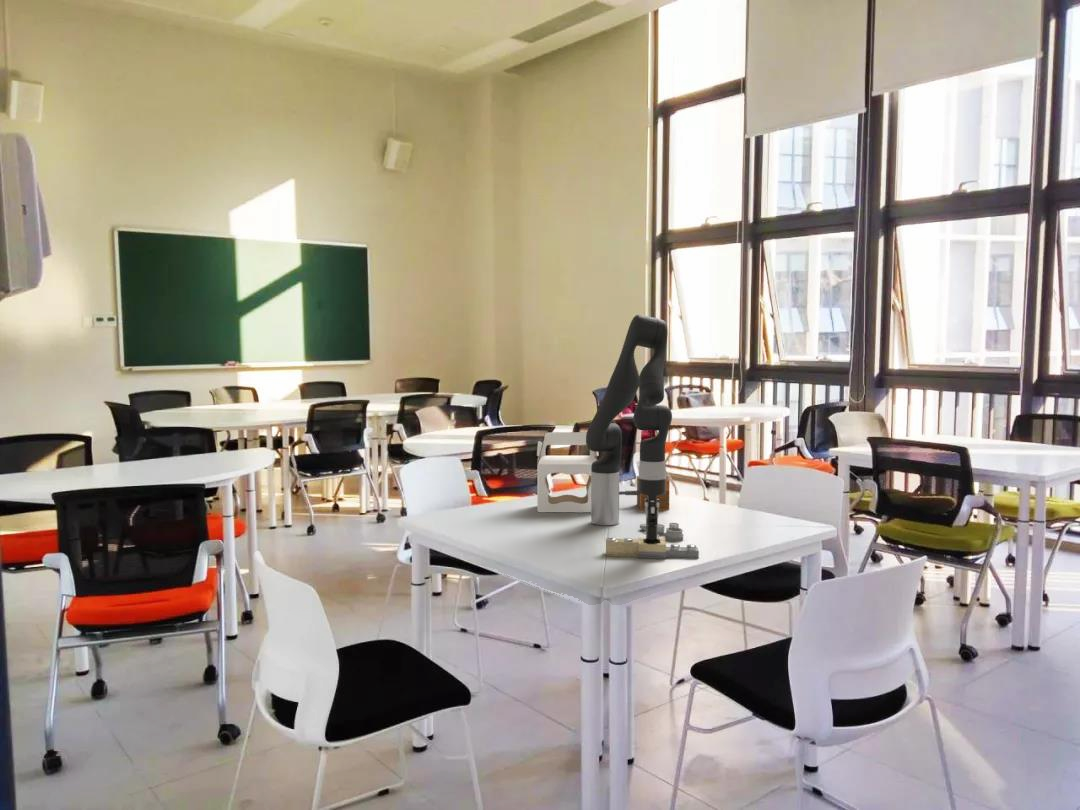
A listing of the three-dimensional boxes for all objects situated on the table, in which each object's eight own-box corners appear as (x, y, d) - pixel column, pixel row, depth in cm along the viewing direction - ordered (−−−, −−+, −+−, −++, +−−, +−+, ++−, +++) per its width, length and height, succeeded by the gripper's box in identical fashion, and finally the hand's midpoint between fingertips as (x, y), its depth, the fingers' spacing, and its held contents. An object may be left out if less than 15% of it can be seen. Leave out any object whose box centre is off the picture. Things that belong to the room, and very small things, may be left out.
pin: (644, 546, 229) (644, 500, 228) (658, 546, 228) (658, 500, 227) (644, 550, 225) (645, 503, 224) (659, 550, 224) (659, 503, 223)
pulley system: (688, 533, 258) (641, 527, 262) (689, 518, 257) (642, 513, 262) (677, 557, 232) (626, 551, 236) (678, 541, 231) (626, 535, 235)
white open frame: (597, 505, 298) (597, 430, 296) (599, 513, 285) (599, 434, 283) (537, 505, 299) (537, 430, 297) (536, 513, 285) (536, 434, 283)
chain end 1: (606, 550, 232) (606, 535, 231) (664, 552, 230) (664, 536, 230) (605, 557, 224) (605, 541, 224) (666, 559, 222) (666, 543, 222)
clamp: (610, 505, 300) (610, 466, 299) (663, 504, 301) (664, 466, 300) (614, 510, 289) (614, 471, 288) (669, 510, 290) (669, 470, 289)
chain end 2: (637, 551, 231) (637, 541, 230) (696, 552, 229) (696, 542, 229) (638, 558, 223) (638, 547, 223) (699, 559, 221) (699, 549, 221)
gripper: (667, 480, 218) (666, 544, 219) (664, 472, 232) (664, 532, 233) (639, 480, 218) (638, 543, 220) (638, 472, 232) (637, 531, 234)
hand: (651, 537), depth 226 cm, fingers closed on pin, 3 cm apart
